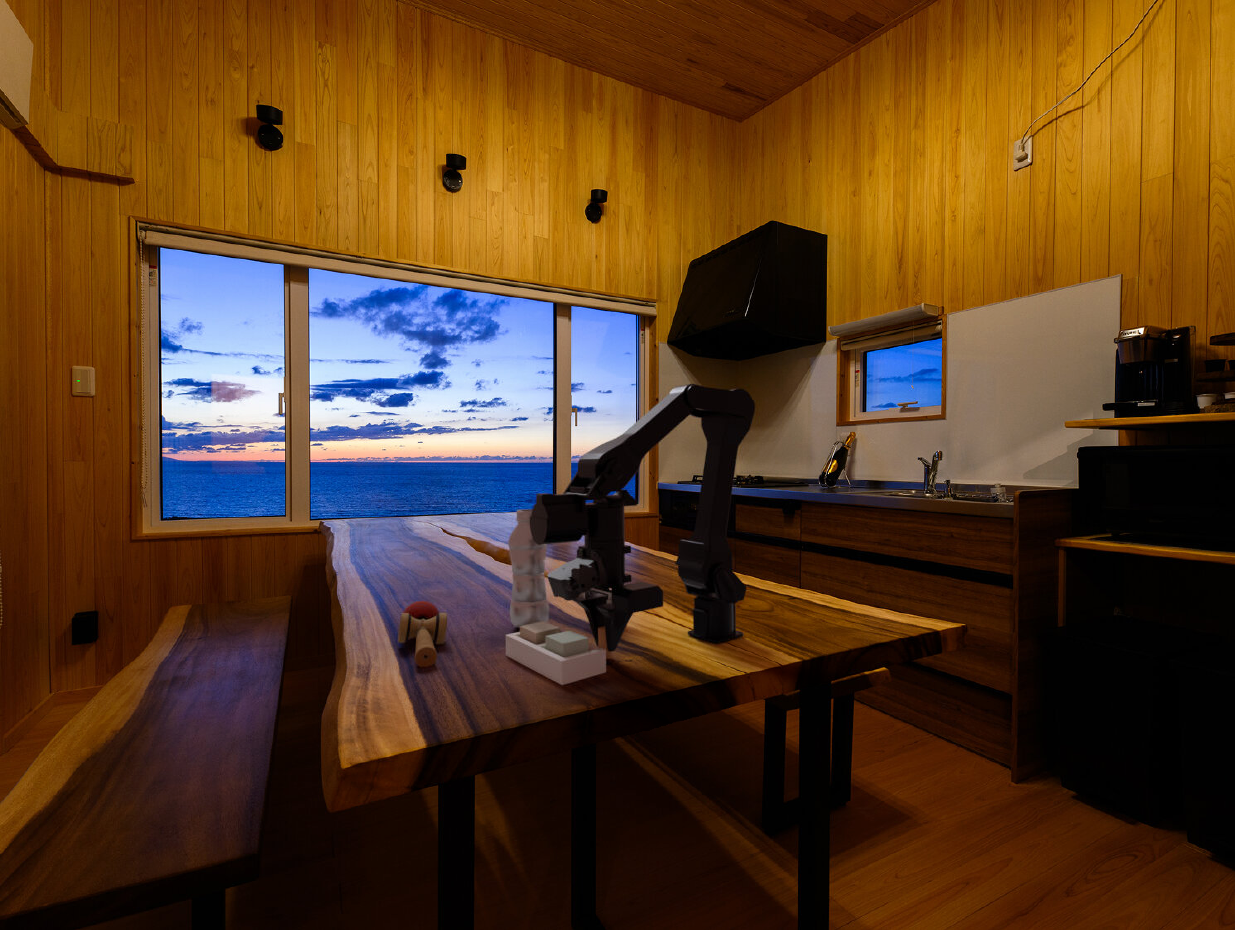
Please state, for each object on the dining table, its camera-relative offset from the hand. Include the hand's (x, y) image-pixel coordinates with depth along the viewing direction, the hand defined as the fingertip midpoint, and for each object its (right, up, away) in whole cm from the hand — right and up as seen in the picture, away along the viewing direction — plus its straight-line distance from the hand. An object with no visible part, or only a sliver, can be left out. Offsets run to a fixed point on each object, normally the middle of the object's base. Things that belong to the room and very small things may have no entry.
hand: (606, 648), depth 84 cm
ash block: (-10, -2, +1) cm, 10 cm away
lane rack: (-7, -2, -1) cm, 8 cm away
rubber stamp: (-3, -2, -2) cm, 4 cm away
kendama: (-28, -2, +6) cm, 29 cm away
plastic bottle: (-13, -2, +17) cm, 22 cm away
